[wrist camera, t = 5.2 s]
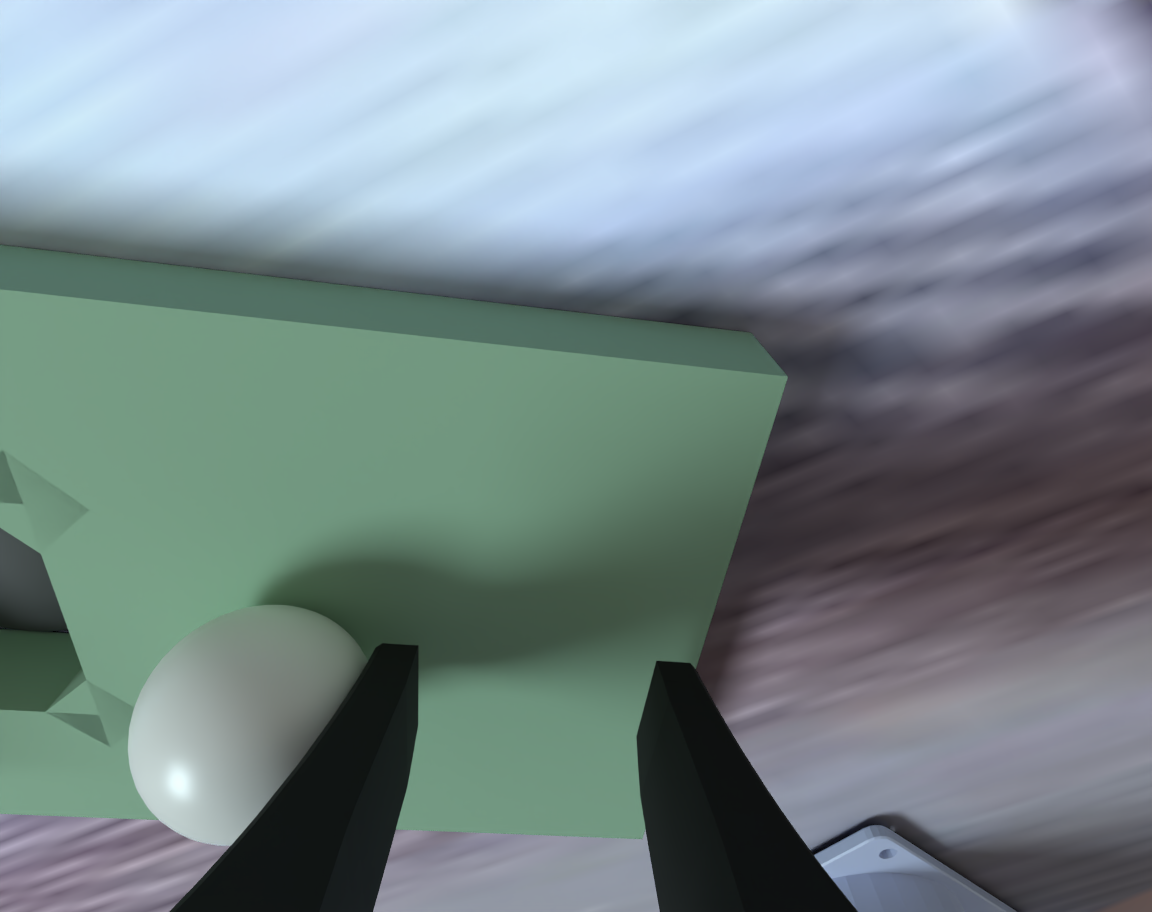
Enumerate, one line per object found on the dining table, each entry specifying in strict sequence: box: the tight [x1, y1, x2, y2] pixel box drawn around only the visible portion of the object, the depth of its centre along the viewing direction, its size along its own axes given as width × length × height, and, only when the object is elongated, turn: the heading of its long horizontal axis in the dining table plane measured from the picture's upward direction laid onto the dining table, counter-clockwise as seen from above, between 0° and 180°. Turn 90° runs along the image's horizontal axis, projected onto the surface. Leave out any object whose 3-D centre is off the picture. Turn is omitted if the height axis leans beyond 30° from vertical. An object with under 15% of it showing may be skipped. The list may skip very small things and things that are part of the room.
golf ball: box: [128, 605, 368, 846], centre depth 10 cm, size 4×4×4 cm
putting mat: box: [0, 245, 788, 839], centre depth 9 cm, size 22×12×9 cm, turn 83°
